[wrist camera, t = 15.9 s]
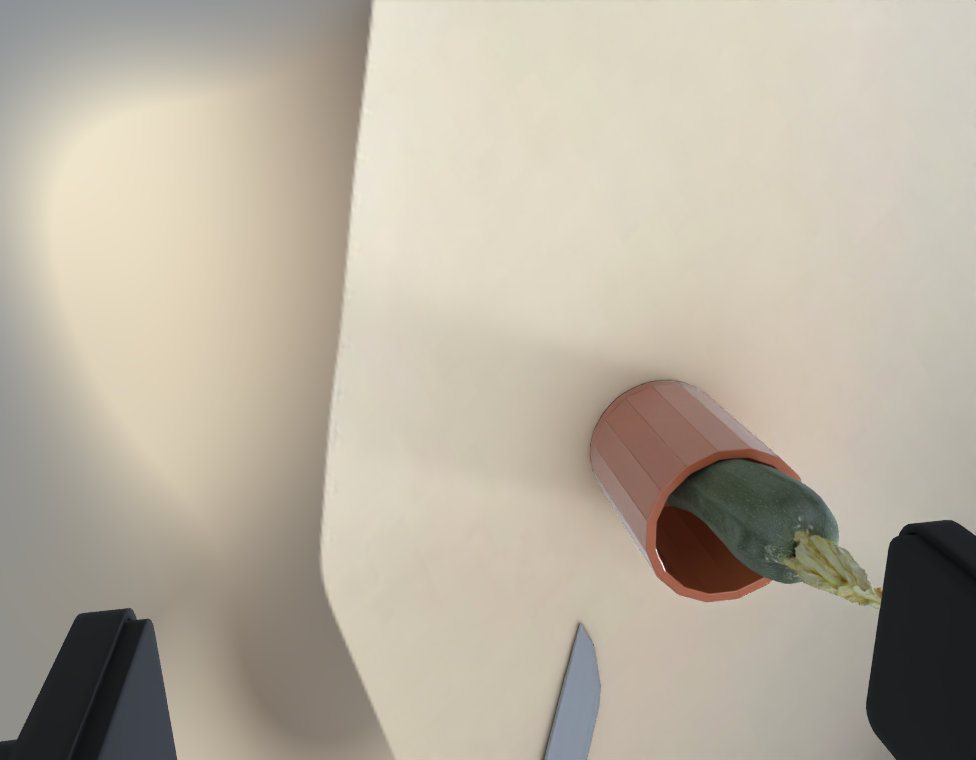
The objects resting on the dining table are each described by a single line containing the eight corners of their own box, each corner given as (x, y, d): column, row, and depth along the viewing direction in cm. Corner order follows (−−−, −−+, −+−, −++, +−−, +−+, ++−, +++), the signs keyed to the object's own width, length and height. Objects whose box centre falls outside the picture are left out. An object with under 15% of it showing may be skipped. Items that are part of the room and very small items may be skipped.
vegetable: (609, 447, 50) (791, 584, 31) (665, 397, 50) (883, 502, 31) (654, 502, 51) (858, 667, 32) (709, 452, 51) (946, 588, 32)
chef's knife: (622, 622, 55) (578, 620, 55) (629, 632, 54) (584, 630, 53) (556, 859, 61) (515, 860, 60) (561, 873, 60) (519, 874, 59)
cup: (588, 514, 52) (643, 610, 43) (590, 385, 50) (649, 457, 40) (719, 501, 54) (800, 592, 44) (728, 374, 51) (816, 442, 41)
